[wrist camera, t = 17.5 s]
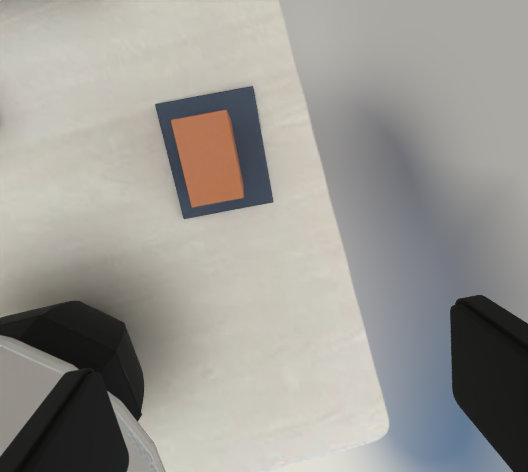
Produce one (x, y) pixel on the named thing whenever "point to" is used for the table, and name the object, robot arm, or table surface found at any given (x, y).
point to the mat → (246, 140)
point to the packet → (209, 158)
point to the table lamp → (69, 359)
